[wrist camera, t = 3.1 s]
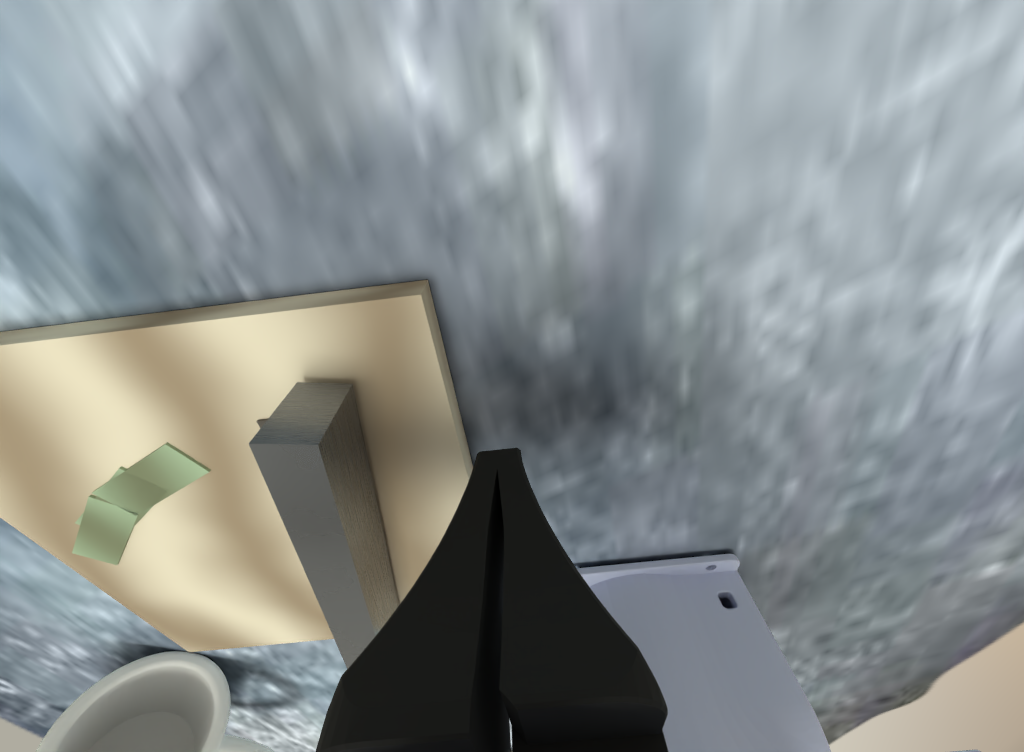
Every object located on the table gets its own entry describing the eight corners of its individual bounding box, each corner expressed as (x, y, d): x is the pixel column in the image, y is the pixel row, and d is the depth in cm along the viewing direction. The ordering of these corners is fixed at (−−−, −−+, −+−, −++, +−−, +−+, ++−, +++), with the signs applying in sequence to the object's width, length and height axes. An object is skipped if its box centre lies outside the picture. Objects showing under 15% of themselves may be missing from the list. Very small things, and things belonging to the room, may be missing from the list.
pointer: (363, 382, 11) (319, 467, 8) (409, 629, 20) (395, 711, 17) (288, 380, 11) (216, 465, 8) (368, 629, 20) (347, 712, 17)
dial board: (428, 279, 11) (420, 295, 10) (505, 599, 21) (505, 624, 20) (-145, 349, 12) (-212, 372, 10) (203, 628, 22) (187, 654, 21)
